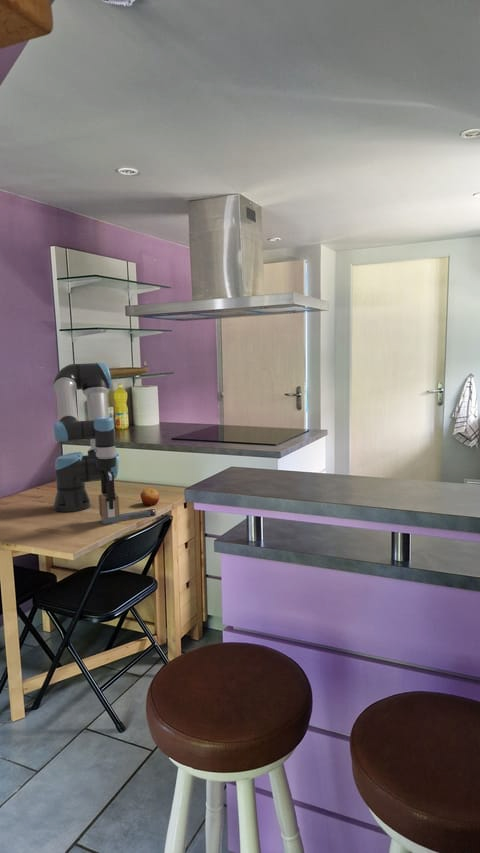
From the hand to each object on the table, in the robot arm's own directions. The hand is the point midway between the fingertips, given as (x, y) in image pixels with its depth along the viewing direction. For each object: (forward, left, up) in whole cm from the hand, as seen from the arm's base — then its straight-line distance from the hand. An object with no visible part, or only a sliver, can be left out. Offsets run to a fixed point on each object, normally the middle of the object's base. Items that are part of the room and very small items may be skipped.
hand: (109, 514), depth 212 cm
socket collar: (0, 0, 0) cm, 0 cm away
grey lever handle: (0, +8, -3) cm, 8 cm away
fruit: (-16, +21, -3) cm, 27 cm away
